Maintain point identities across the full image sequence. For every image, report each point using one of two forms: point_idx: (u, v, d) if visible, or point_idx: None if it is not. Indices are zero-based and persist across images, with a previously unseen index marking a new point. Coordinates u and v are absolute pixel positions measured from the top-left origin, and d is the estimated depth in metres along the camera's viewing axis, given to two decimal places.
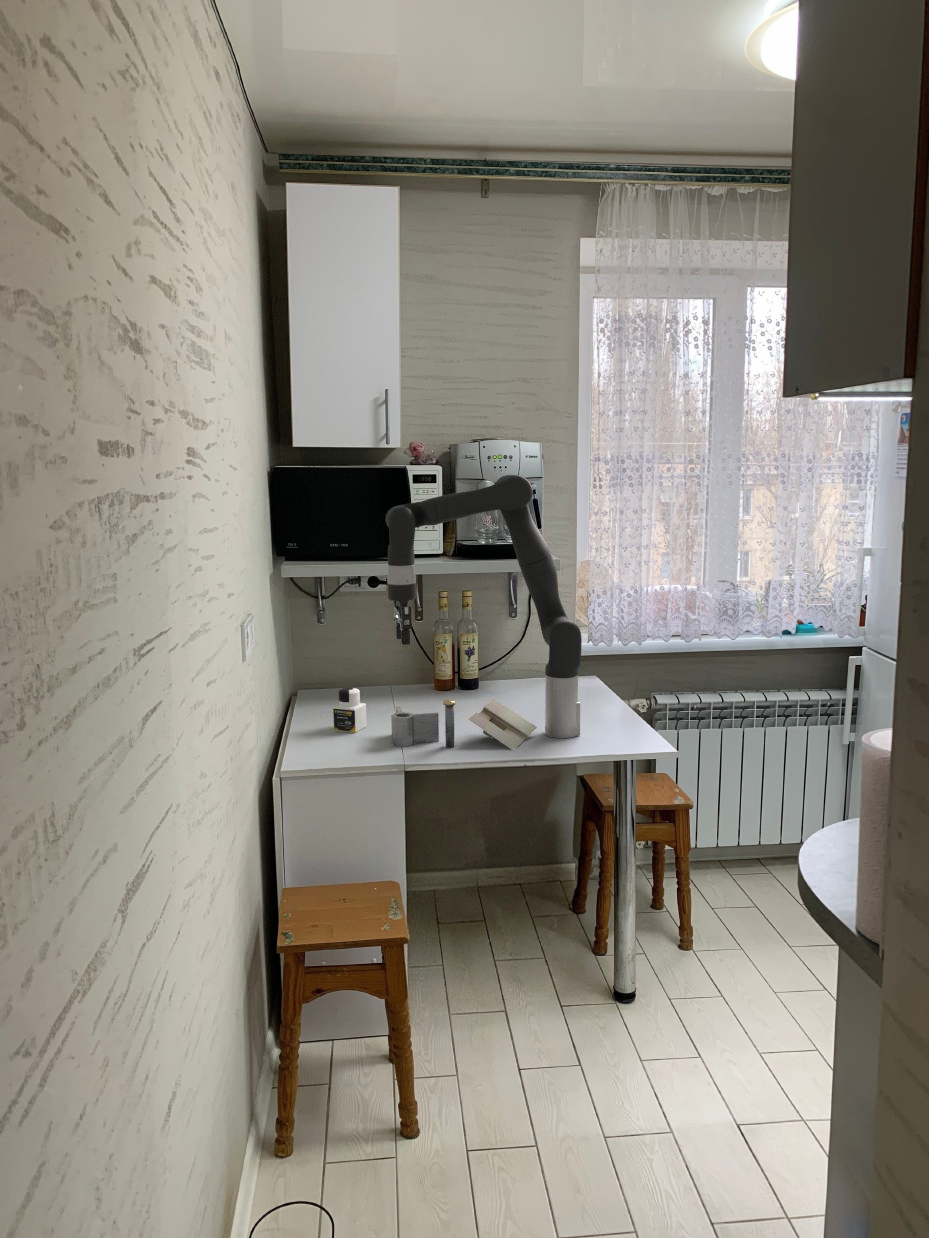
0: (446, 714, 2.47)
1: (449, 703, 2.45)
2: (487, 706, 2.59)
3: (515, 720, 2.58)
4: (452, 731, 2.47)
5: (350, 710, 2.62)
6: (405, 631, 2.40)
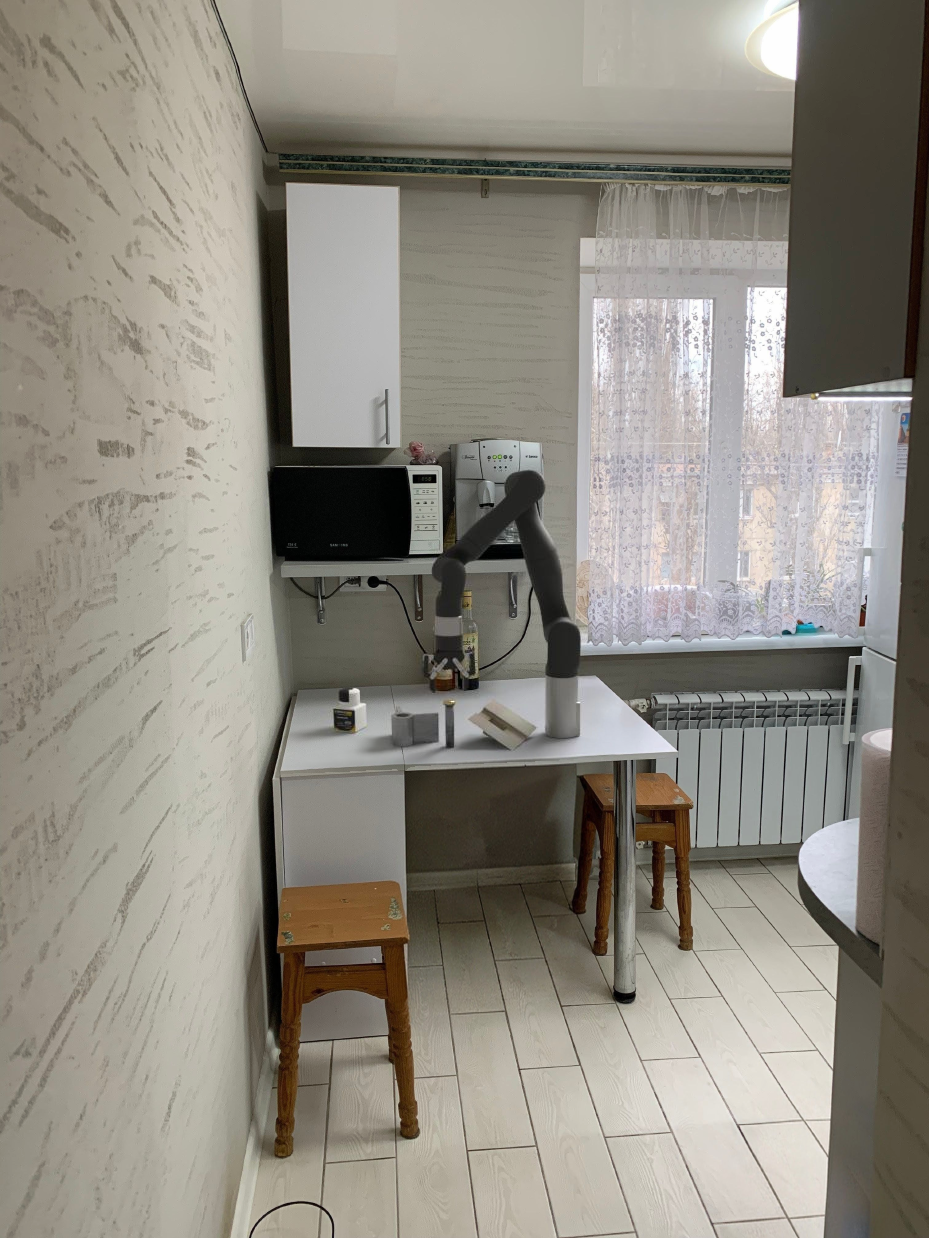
0: (446, 714, 2.47)
1: (449, 703, 2.45)
2: (487, 706, 2.59)
3: (515, 721, 2.57)
4: (452, 731, 2.47)
5: (350, 710, 2.62)
6: None
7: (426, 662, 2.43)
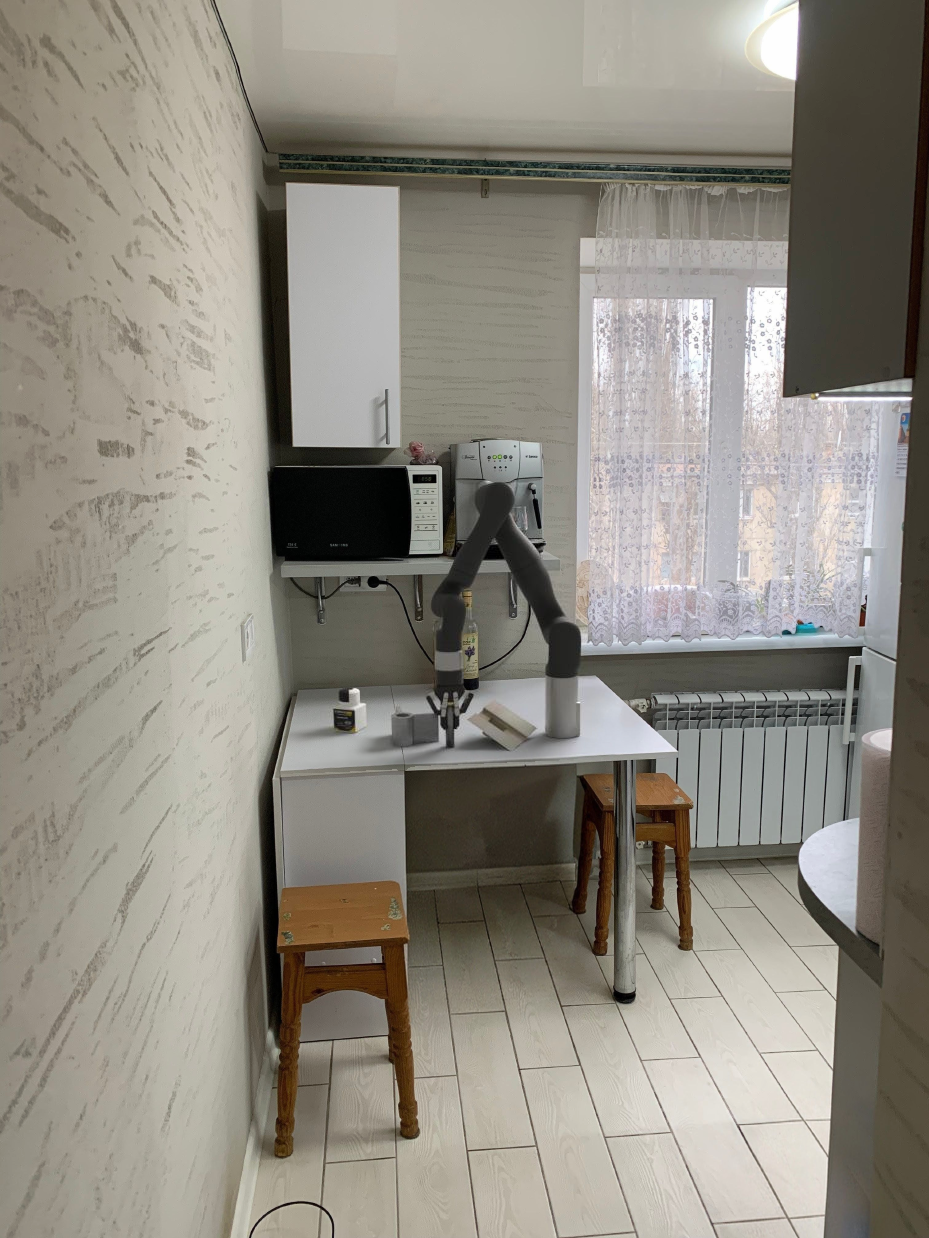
0: (446, 714, 2.47)
1: (449, 703, 2.45)
2: (487, 707, 2.58)
3: (515, 721, 2.57)
4: (452, 731, 2.47)
5: (350, 710, 2.62)
6: None
7: (431, 702, 2.45)
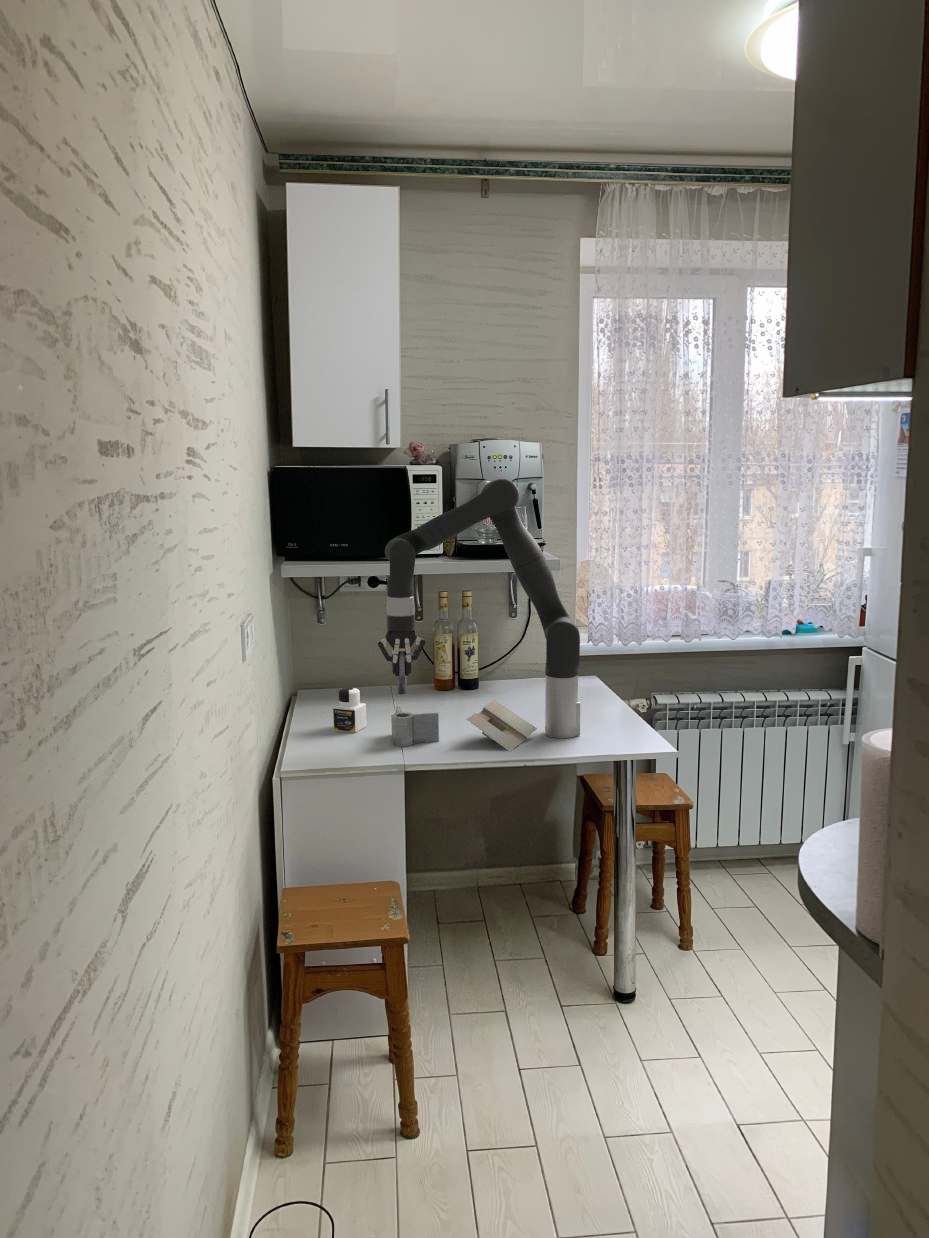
0: (398, 660, 2.48)
1: (401, 649, 2.46)
2: (487, 707, 2.58)
3: (515, 721, 2.57)
4: (404, 677, 2.48)
5: (350, 710, 2.62)
6: None
7: (382, 647, 2.46)
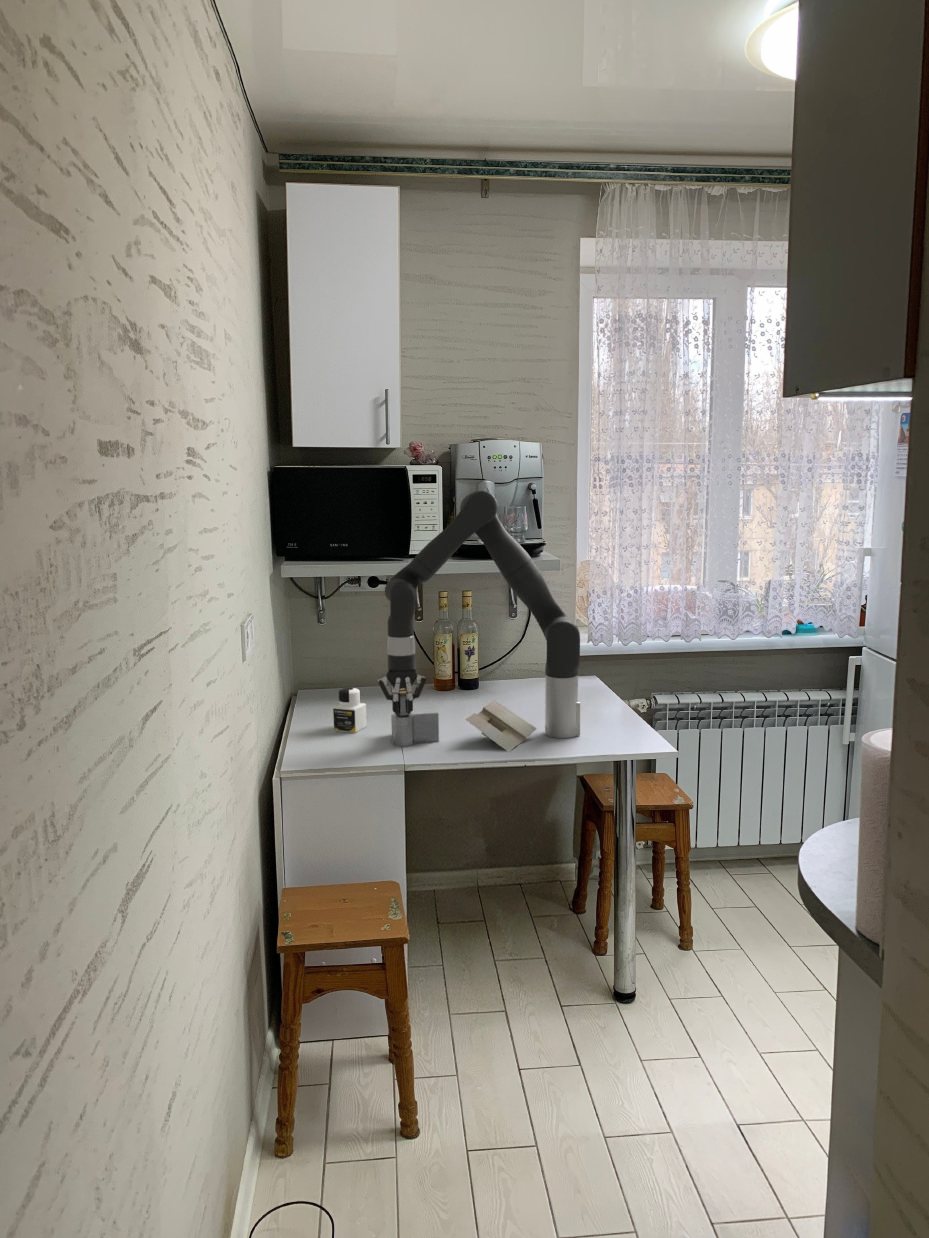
0: (399, 703, 2.50)
1: (401, 692, 2.48)
2: (487, 707, 2.58)
3: (514, 722, 2.56)
4: None
5: (350, 710, 2.62)
6: None
7: (383, 686, 2.48)
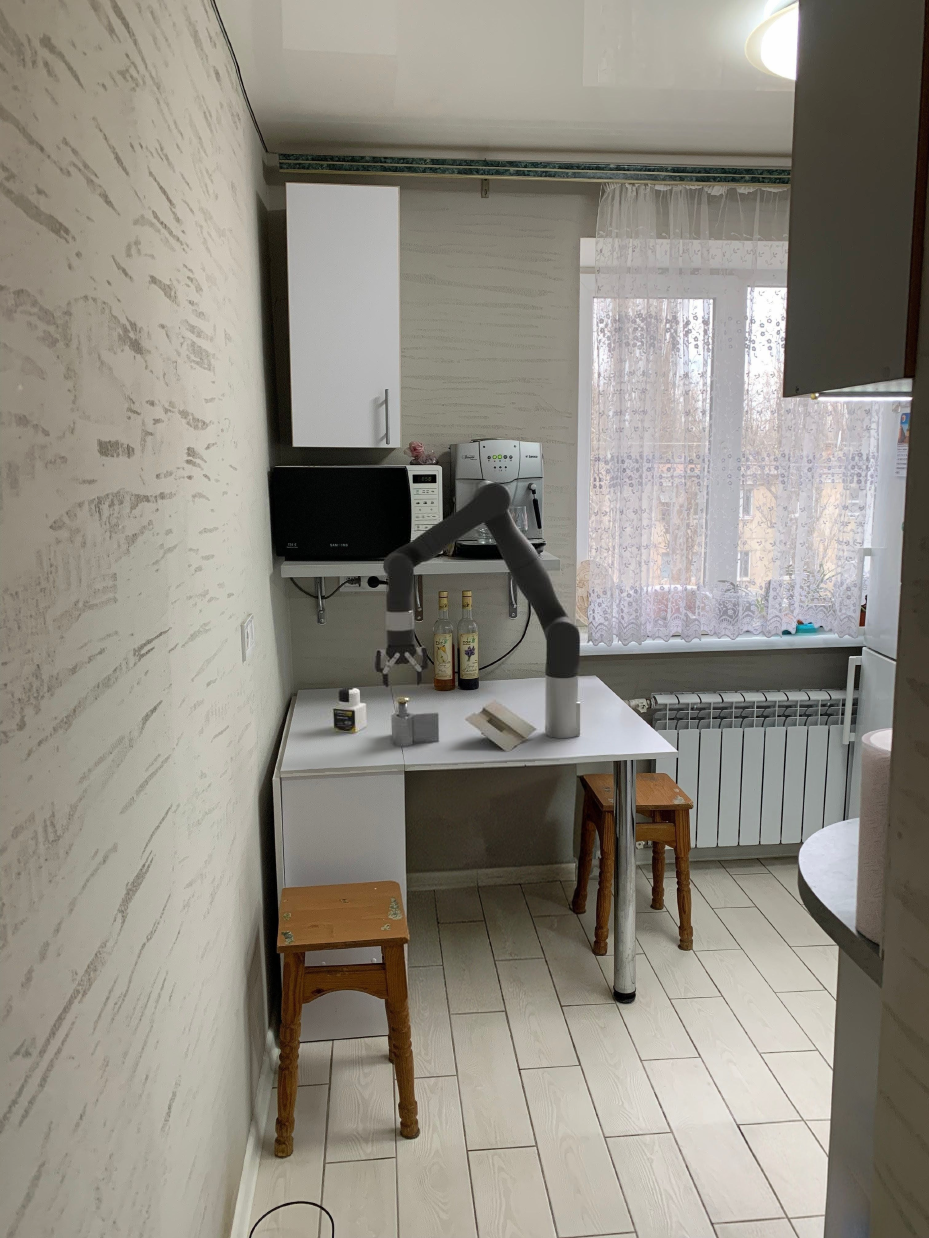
0: (399, 711, 2.50)
1: (402, 700, 2.49)
2: (487, 707, 2.58)
3: (514, 722, 2.56)
4: None
5: (350, 710, 2.62)
6: None
7: (378, 657, 2.46)
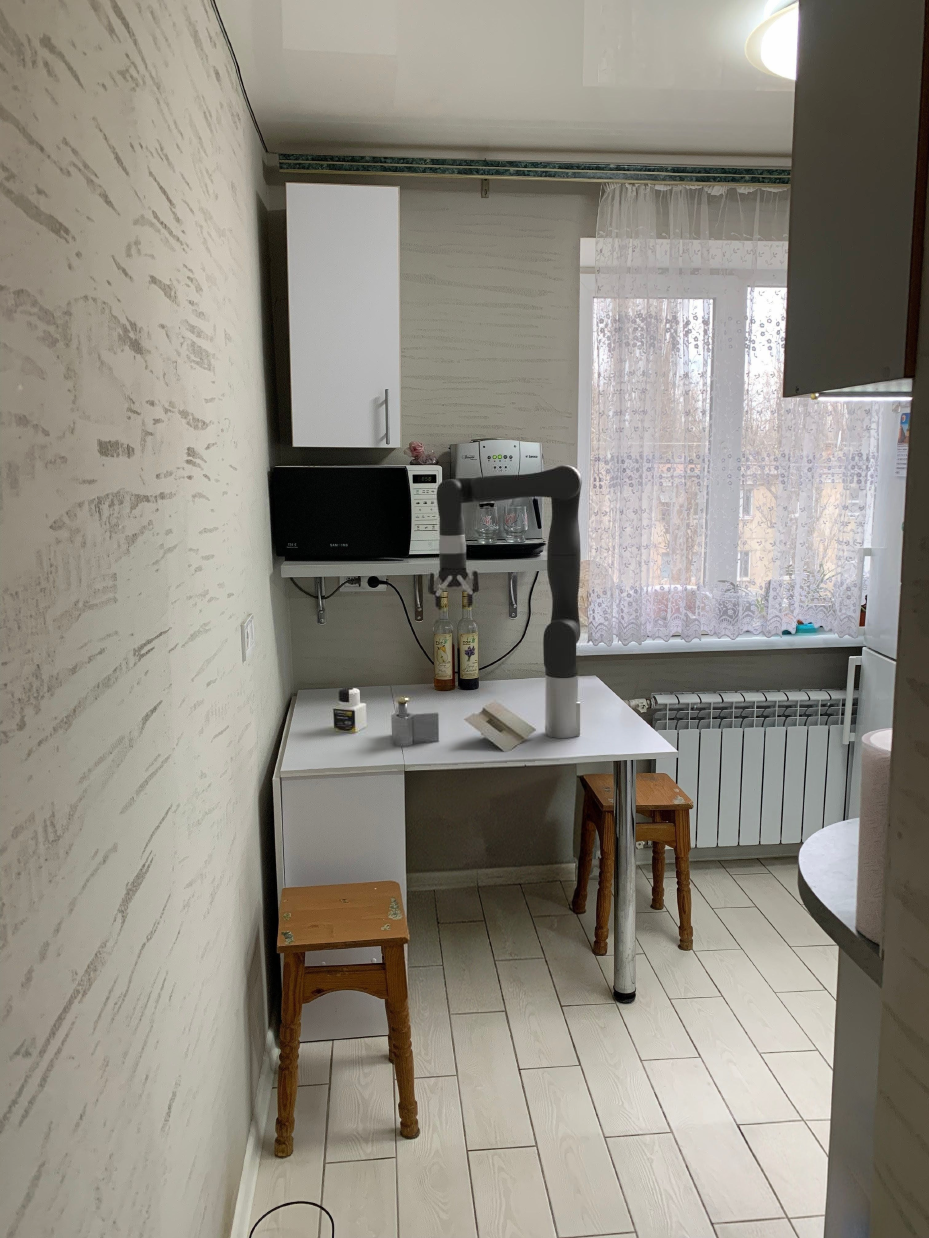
0: (399, 711, 2.50)
1: (402, 700, 2.49)
2: (487, 707, 2.58)
3: (514, 722, 2.56)
4: None
5: (350, 710, 2.62)
6: None
7: (432, 579, 2.56)
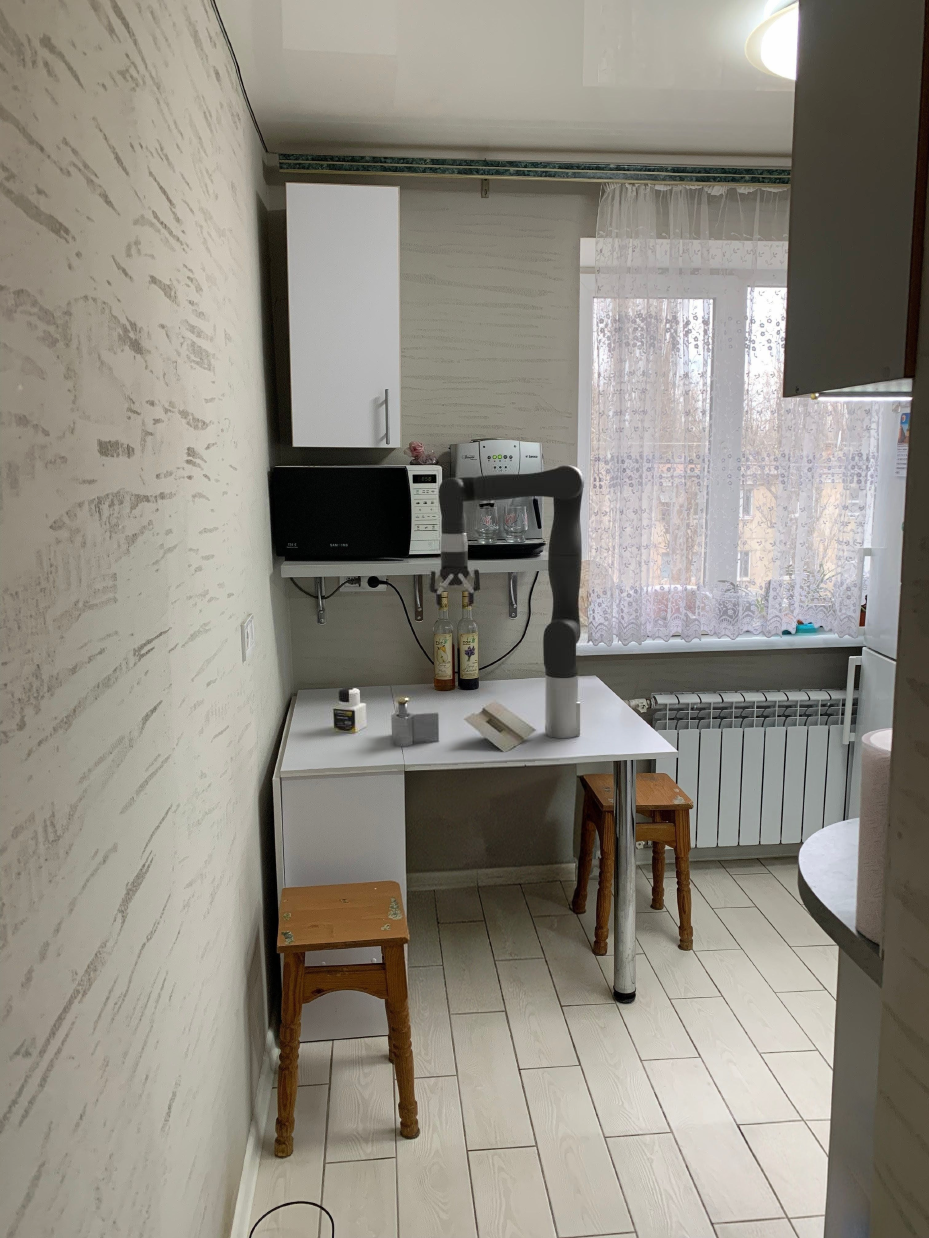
0: (399, 711, 2.50)
1: (402, 700, 2.49)
2: (487, 707, 2.58)
3: (514, 722, 2.56)
4: None
5: (350, 710, 2.62)
6: None
7: (433, 578, 2.56)
